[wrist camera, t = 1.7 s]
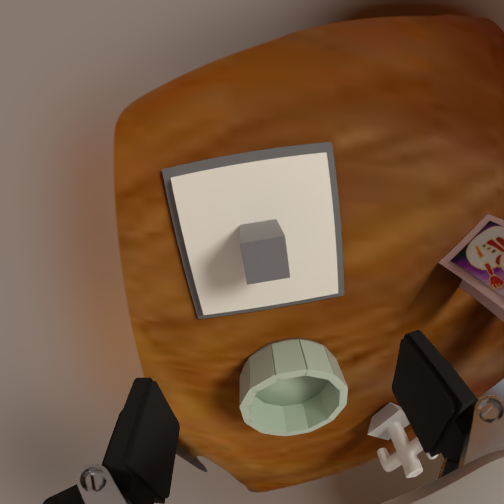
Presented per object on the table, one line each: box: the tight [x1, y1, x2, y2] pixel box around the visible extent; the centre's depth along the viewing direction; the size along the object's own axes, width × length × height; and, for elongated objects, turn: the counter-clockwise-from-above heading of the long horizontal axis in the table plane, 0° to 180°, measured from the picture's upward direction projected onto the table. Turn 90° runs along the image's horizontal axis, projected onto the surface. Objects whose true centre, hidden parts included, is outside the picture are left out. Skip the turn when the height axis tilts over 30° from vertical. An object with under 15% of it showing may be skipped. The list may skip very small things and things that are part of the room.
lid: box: [171, 152, 338, 315], centre depth 25 cm, size 15×15×7 cm
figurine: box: [367, 402, 438, 478], centre depth 33 cm, size 7×9×15 cm
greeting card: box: [438, 214, 504, 322], centre depth 24 cm, size 11×7×15 cm, turn 128°
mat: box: [162, 142, 344, 319], centre depth 29 cm, size 17×17×1 cm
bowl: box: [239, 338, 348, 436], centre depth 33 cm, size 13×13×6 cm
